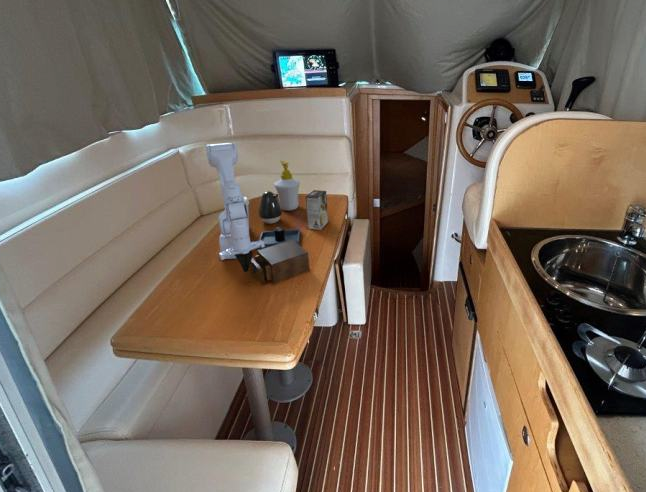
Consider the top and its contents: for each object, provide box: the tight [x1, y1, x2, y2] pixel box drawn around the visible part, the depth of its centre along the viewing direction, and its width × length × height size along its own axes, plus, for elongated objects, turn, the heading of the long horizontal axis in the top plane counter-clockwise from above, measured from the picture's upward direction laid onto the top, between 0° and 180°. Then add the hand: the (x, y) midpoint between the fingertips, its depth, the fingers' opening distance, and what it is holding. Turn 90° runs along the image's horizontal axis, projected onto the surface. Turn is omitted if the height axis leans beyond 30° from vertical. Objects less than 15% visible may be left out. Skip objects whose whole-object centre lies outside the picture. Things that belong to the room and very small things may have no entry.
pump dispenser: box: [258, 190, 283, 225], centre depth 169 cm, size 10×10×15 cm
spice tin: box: [273, 226, 285, 242], centre depth 153 cm, size 4×4×5 cm
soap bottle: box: [273, 160, 301, 212], centre depth 183 cm, size 13×13×25 cm
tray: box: [257, 228, 301, 250], centre depth 153 cm, size 16×12×2 cm
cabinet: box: [257, 240, 310, 285], centre depth 131 cm, size 14×13×8 cm
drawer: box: [248, 254, 273, 286], centre depth 128 cm, size 14×11×6 cm
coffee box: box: [305, 189, 329, 231], centre depth 166 cm, size 9×6×16 cm
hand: (245, 270), depth 126 cm, fingers closed
